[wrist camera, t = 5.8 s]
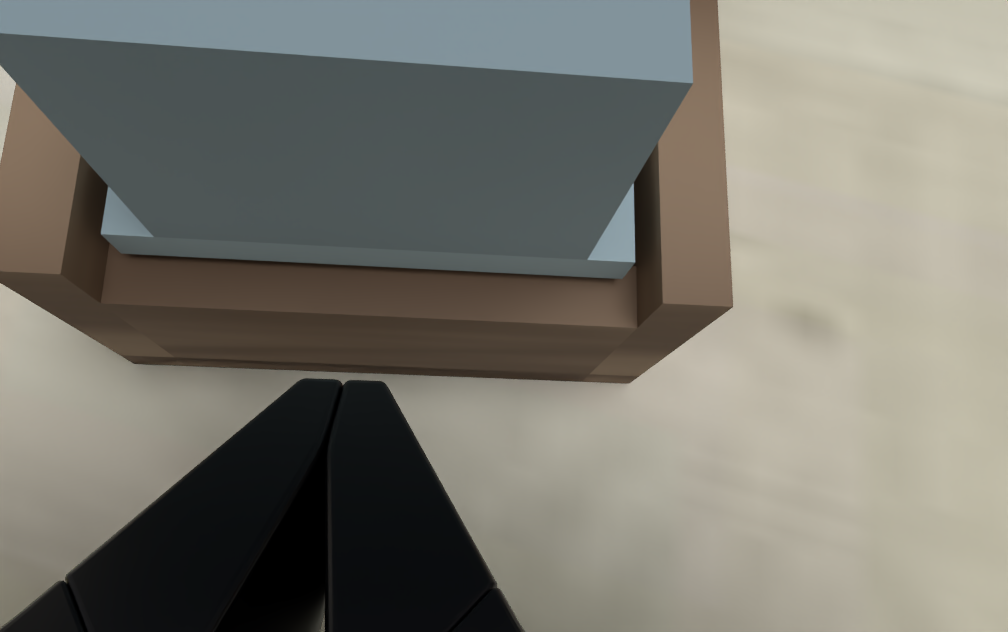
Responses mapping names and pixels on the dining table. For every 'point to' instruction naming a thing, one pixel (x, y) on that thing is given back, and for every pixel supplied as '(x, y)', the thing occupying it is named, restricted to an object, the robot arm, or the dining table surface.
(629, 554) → the dining table surface
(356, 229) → the lid
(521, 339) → the pencil box
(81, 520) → the dining table surface
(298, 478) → the robot arm
